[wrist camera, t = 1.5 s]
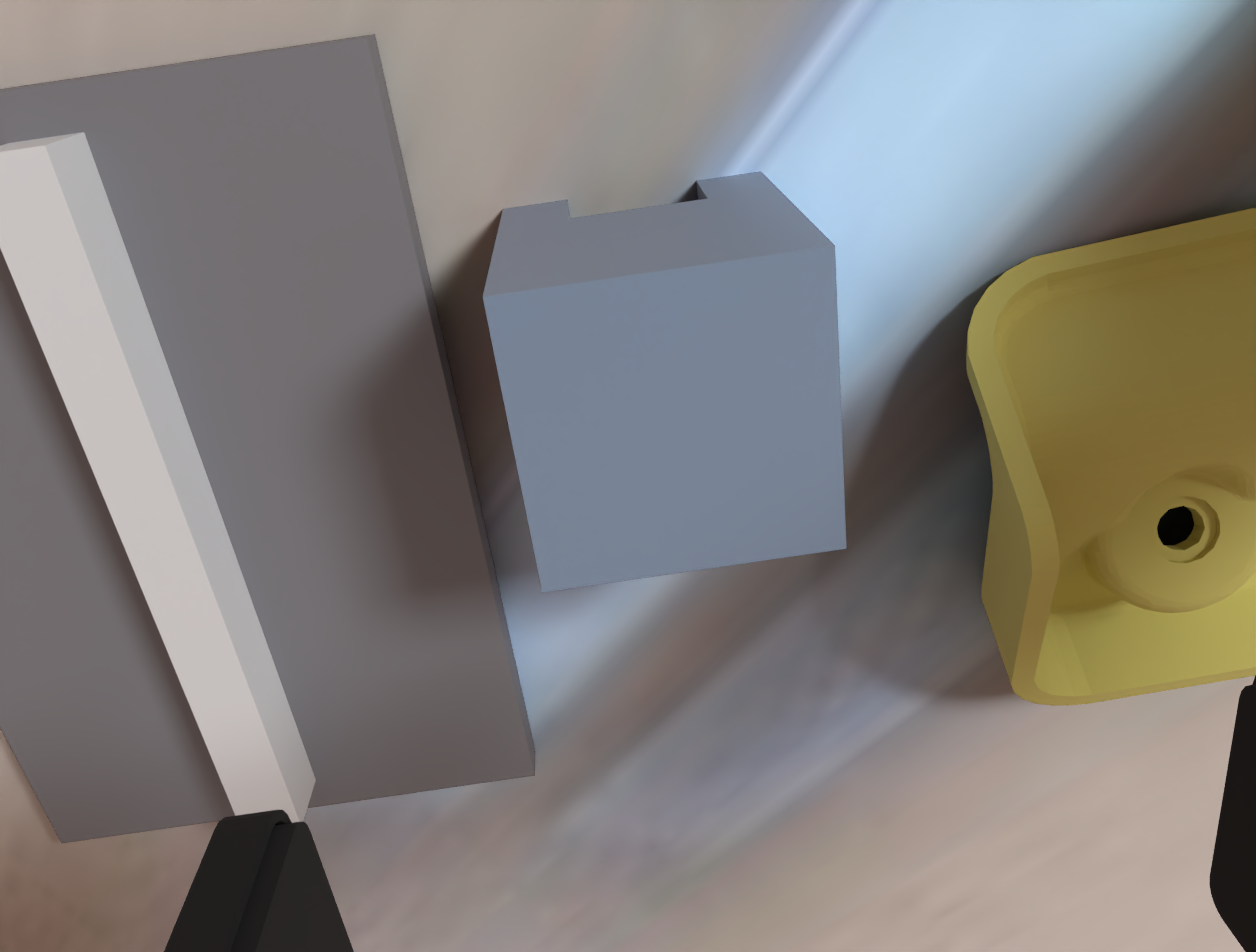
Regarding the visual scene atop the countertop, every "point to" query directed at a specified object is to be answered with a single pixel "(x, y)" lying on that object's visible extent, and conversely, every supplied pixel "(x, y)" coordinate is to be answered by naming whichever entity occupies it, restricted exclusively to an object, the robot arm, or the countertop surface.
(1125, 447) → the plastic component
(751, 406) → the block
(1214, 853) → the robot arm
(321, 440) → the rail plate
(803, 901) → the countertop surface
